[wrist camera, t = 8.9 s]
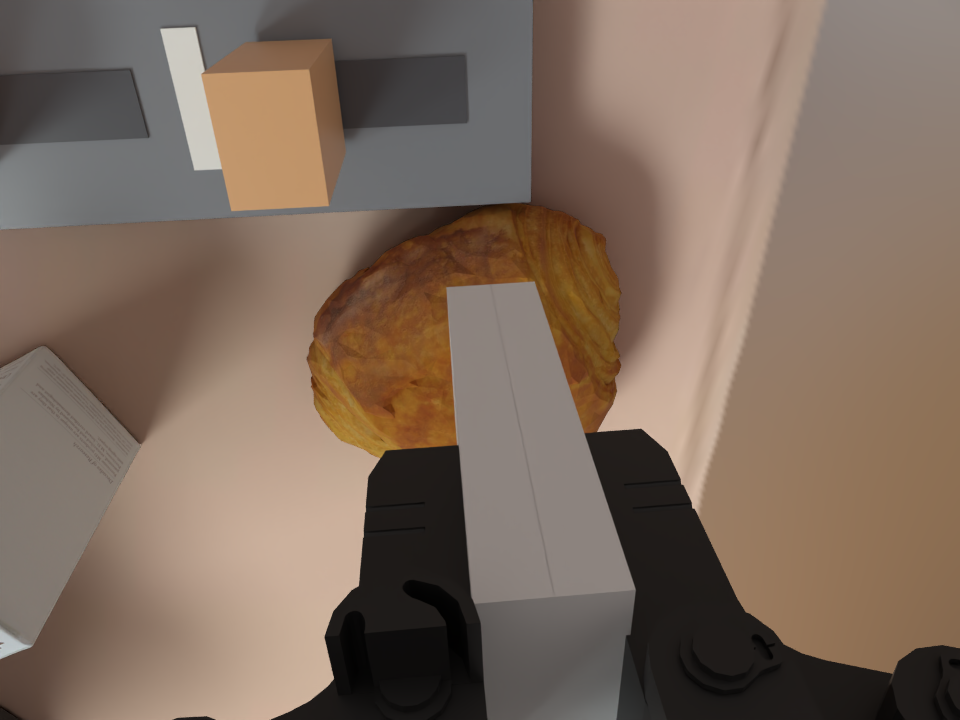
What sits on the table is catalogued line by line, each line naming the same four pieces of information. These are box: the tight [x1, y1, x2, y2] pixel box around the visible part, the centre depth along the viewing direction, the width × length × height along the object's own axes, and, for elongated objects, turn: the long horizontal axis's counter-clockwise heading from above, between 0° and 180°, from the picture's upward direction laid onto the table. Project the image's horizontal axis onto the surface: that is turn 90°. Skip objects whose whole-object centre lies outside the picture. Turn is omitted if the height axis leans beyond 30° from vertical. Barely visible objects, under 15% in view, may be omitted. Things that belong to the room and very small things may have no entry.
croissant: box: [307, 203, 621, 458], centre depth 34 cm, size 14×16×8 cm
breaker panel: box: [0, 0, 533, 230], centre depth 28 cm, size 26×9×3 cm, turn 92°
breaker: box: [201, 39, 346, 211], centre depth 24 cm, size 3×4×6 cm
